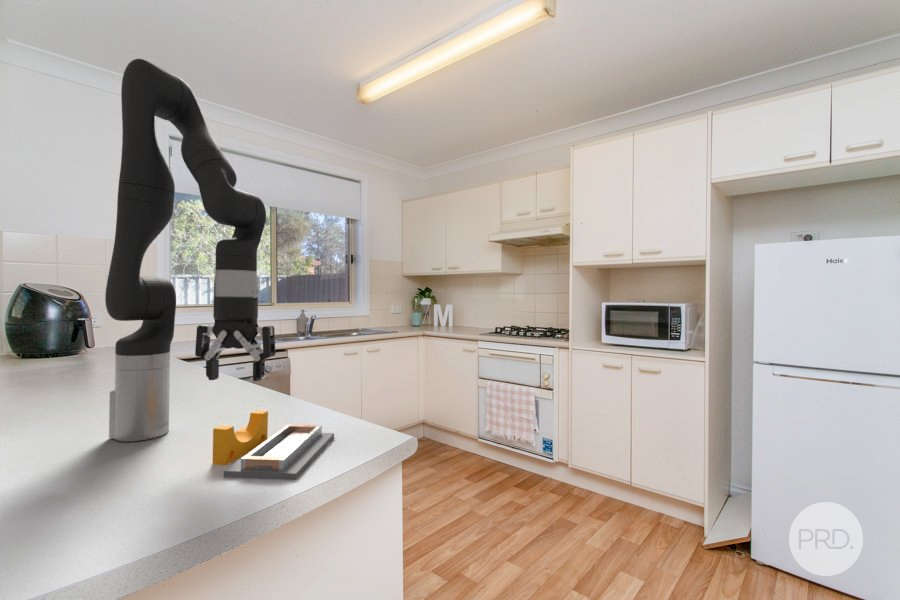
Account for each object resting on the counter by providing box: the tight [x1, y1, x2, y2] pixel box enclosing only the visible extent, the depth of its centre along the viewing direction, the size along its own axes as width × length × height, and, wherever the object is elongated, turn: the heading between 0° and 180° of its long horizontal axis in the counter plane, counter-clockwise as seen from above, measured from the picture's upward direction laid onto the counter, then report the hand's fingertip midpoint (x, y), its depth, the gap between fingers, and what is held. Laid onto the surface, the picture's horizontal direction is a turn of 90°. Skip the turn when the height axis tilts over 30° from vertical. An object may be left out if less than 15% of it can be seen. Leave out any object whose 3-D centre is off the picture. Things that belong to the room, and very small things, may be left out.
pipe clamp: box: [212, 409, 269, 466], centre depth 78 cm, size 12×4×6 cm, turn 170°
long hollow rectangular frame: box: [240, 423, 323, 471], centre depth 77 cm, size 7×18×2 cm, turn 178°
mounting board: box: [223, 432, 335, 481], centre depth 77 cm, size 12×20×1 cm, turn 178°
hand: (235, 379), depth 78 cm, fingers open, 8 cm apart
